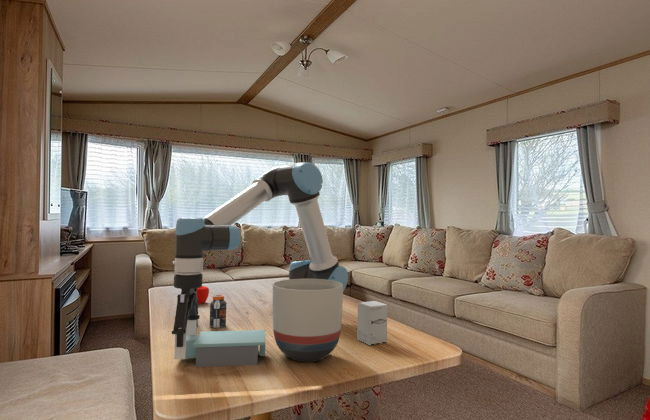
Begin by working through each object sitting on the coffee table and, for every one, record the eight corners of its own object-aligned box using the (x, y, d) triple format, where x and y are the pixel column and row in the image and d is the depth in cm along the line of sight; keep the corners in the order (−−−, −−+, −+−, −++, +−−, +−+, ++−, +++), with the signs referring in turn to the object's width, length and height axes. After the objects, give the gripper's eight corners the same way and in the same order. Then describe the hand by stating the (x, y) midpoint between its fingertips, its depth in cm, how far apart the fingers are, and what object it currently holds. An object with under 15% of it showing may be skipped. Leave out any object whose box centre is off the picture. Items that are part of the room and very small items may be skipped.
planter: (283, 376, 96) (285, 292, 96) (263, 351, 114) (264, 280, 115) (354, 365, 104) (355, 287, 105) (325, 343, 123) (325, 277, 123)
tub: (258, 353, 113) (258, 333, 113) (257, 367, 102) (257, 344, 102) (203, 355, 110) (203, 334, 111) (195, 370, 99) (196, 347, 100)
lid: (265, 345, 113) (265, 329, 113) (264, 360, 102) (265, 342, 102) (183, 348, 110) (184, 332, 110) (173, 363, 98) (174, 345, 99)
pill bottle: (221, 328, 138) (222, 297, 138) (206, 327, 139) (207, 296, 140) (228, 324, 144) (229, 294, 144) (214, 323, 145) (215, 293, 145)
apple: (195, 300, 185) (195, 284, 185) (212, 301, 184) (212, 285, 184) (185, 304, 176) (186, 287, 176) (203, 305, 175) (204, 288, 175)
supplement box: (368, 346, 120) (369, 306, 121) (356, 339, 127) (357, 301, 127) (387, 343, 124) (388, 304, 124) (374, 336, 130) (375, 300, 131)
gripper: (184, 267, 117) (182, 337, 116) (161, 279, 92) (158, 367, 91) (209, 267, 118) (207, 336, 117) (193, 279, 93) (190, 366, 93)
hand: (185, 350), depth 104 cm, fingers open, 13 cm apart
